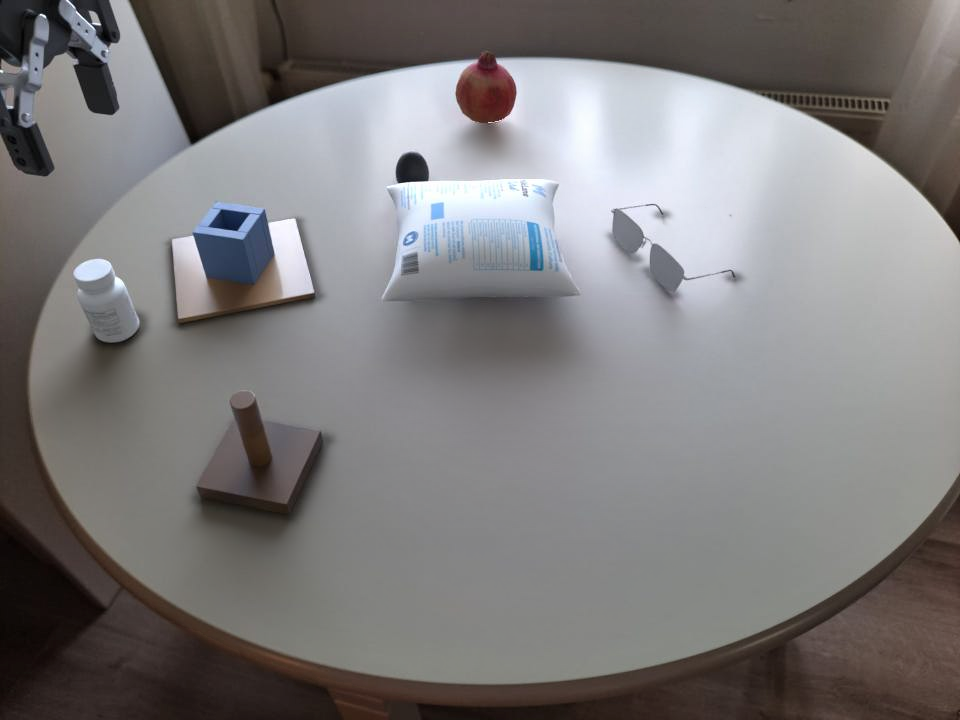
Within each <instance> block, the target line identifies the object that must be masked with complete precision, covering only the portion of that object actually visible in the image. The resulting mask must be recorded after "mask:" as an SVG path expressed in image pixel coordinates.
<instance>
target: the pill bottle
mask: <svg viewBox="0 0 960 720" xmlns="http://www.w3.org/2000/svg"><path fill="white" fill-rule="evenodd" d="M73 277H74V281H75V283H76V285H77V287H78V290H77V294H76V295H77V300H78V302H79V305H80V307H81V309H82V311H83V314H84V315H85V318H86V320H87V322H88V324H89V326H90V328H91V330H92V332H93V334H94V336H95V337H96V338H97V339H98V340H99V341H101V342H104V343H120V342H123V341H125V340H128V339H129V338H130V337H132V336H133V335H134V334H136V332H137V331H138V330H139V327H140V319H139V316H138V314H137V311H136V309H135V306H134V304H133V302H132V299H131V297H130V294H129V292H128V289H127V287H126V284H125V283H124V281H123V280H122V279H120V278H119V277H117V276H116V272H115V270H114V268H113V266H112V264H111V262H109V261H108V260H106V259H103V258H93V259H88V260H86V261H84V262H82V263H80V264H79V265H77V266H76V267H75V269H74V271H73Z"/></svg>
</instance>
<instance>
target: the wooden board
mask: <svg viewBox="0 0 960 720" xmlns="http://www.w3.org/2000/svg"><path fill="white" fill-rule="evenodd" d="M268 225H269V230H270V234H271V239H272V243H273V248H274V252H275V253H274V255H273V256H272V258H271V259H270V261H269V262H268V264H267V266H266V267H265V269H264V270H263V272H262V273H261V275H260V277H259V278H258V280H257V281H256V283H255V284H254V285H253V284H247V283H241V282H234V281H228V280H221V279H215V278H208V277H206V275H205V272H204V269H203V265H202V262H201V259H200V256H199V252H198V249H197V246H196V243H195V239H194V236H193V235H189V236H183V237H176V238H171V251H172V262H173V263H172V264H173V274H174V276H173V277H174V287H175V288H174V289H175V299H176V312H177V313H176V314H177V321H178V323H179V324H183V323H188V322H194V321H198V320H203V319H204V320H205V319H209V318H213V317H219V316H223V315H229V314H235V313H239V312H245V311H251V310H256V309H261V308H265V307H270V306H276V305H281V304H285V303H291V302H295V301H301V300H306V299H312V298H316V293H315V289H314V285H313V281H312V277H311V274H310V273H311V272H310V269H309V266H308V262H307V259H306V255H305V251H304V247H303V242H302V239H301V236H300V235H301V234H300V232H299V228H298V224H297V220H296V217H295V218H294V217H293V218H292V217H291V218H288V219H282V220H281V219H280V220H275V221H270V222H269V221H268Z"/></svg>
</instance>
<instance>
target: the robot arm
mask: <svg viewBox="0 0 960 720" xmlns="http://www.w3.org/2000/svg"><path fill="white" fill-rule="evenodd" d="M90 12H93V13H95V14H96V15H97V18H98V21H99V23H95V22H93V19H92V16H91V13H90ZM120 40H121V32H120V28H119V25H118V22H117V20H116V16H115V14H114V10H113V7H112V4H111V2H110V0H0V137H1V139H2V141H3V144H4V146H5V148H6V150H7V152H8V154H9V157H10V160H11V162H12V164H13V166H14V167H15V168H16V169H17V170H18V171H21V172H22V173H24V174H25V175H30V176H38V177H45V178H47V177H48V176H50V175H51V173H52V172H54V170H55V168H56V167H55V164H54V162H53V159H52V157H51V154H50V151H49V149H48V147H47V144H46V142H45V139H44V137H43V134H42V132H41V129H40V126H39V124H38V122H37V121H33V120H34V119H33V118H34V102H35V95H36V93H37V92H39V91H40V90H41V89H42V86H43V76H44V75H43V74H44V69H45V68H47V67H48V66H50V64H51V63H52V61H54V59H55V57H57V56H62V55H64V54H66V55H68V57H70V58H71V59H73V60H77V61H75V62H74V63H73V64H72V67H73V70H74V73H75V76H76V78H77V81H78V84H79V87H80V89H81V93H82V96H83V99H84V101H85V104H86V108H87V109H88V110H89V111H90V112H91V113H93V114H98V115H106V116H114V115H115V114H116V113H117V112H118V111H119V110H120V104H119V100H118V92H117V89H116V86H115V83H114V80H113V77H112V73H111V71H110V70H111V69H110V66H109V63H108V62H110V59H111V51H110V47H111V45H112V44H118V43H119V42H120ZM2 61H4V62H5V63H6V64H8V65H9V66H12V67H16V68H21V69H20V71H19V72H17V73H11V72H5V71H3V70H2ZM11 88H12V89H13V102H12V105H7V104H6V102H7V91H8V89H11Z"/></svg>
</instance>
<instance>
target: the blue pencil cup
mask: <svg viewBox="0 0 960 720" xmlns="http://www.w3.org/2000/svg"><path fill="white" fill-rule="evenodd" d="M267 217H268V216H267V212H266V209H265V208H264V207H257V206H250V205H243V204H236V203H228V202H222V201H221V202H220V201H215V203H214V204H213V205H212V206H211V208H210V209H209V211H207V213H206V214H205V215H204V217H203V218H202V219H201V221H200V222H198V225H196V227H195V228H194V229H193V230H192V236H194V239H195V243H196V246H197V249H198V252H199V256H200V259H201V262H202V265H203V269H204V272H205V275H206V277H208V278H215V279H221V280H228V281H234V282H241V283H247V284H253V285H254V284H255V283H256V281H257V280H258V278H259V277H260V275H261V273H262V272H263V270H264V269H265V267H266V266H267V264H268V262H269V261H270V259H271V258H272V256H273V255H274V253H275V252H274V248H273V243H272V239H271V234H270V230H269V225H268V223H269V221H268V218H267Z"/></svg>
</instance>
